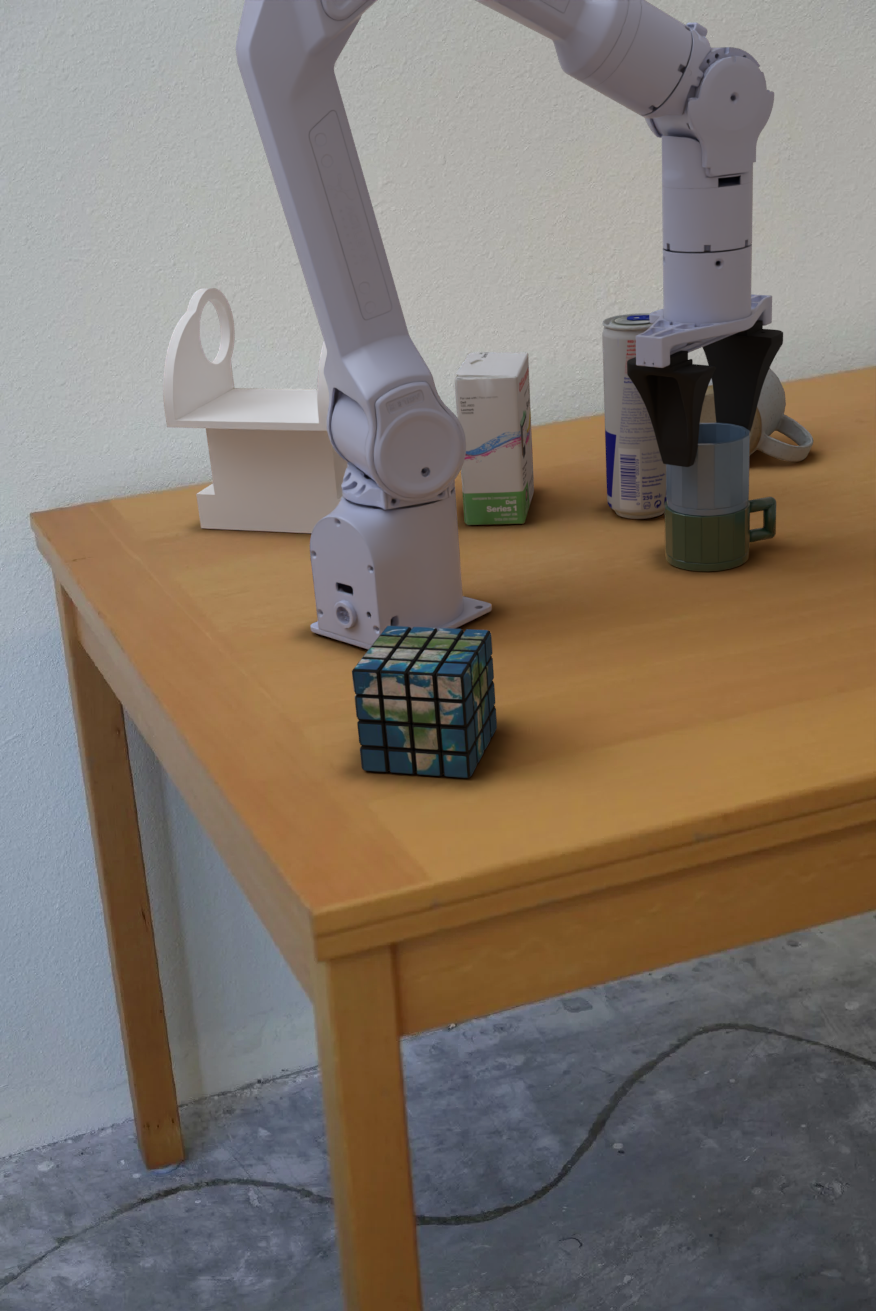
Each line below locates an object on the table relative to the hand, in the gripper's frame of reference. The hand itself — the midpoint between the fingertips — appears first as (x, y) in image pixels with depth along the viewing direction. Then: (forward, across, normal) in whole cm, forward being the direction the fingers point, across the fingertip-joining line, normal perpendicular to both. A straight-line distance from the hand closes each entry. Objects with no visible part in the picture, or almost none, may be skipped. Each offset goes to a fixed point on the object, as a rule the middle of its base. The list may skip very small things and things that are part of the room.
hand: (706, 449), depth 101 cm
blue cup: (+4, 0, 0) cm, 4 cm away
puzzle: (+8, +33, +2) cm, 34 cm away
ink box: (+8, -2, -20) cm, 22 cm away
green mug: (+8, -1, +1) cm, 8 cm away
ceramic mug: (+8, -24, -10) cm, 27 cm away
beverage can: (+8, -7, -10) cm, 14 cm away
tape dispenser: (+8, +7, -34) cm, 35 cm away
